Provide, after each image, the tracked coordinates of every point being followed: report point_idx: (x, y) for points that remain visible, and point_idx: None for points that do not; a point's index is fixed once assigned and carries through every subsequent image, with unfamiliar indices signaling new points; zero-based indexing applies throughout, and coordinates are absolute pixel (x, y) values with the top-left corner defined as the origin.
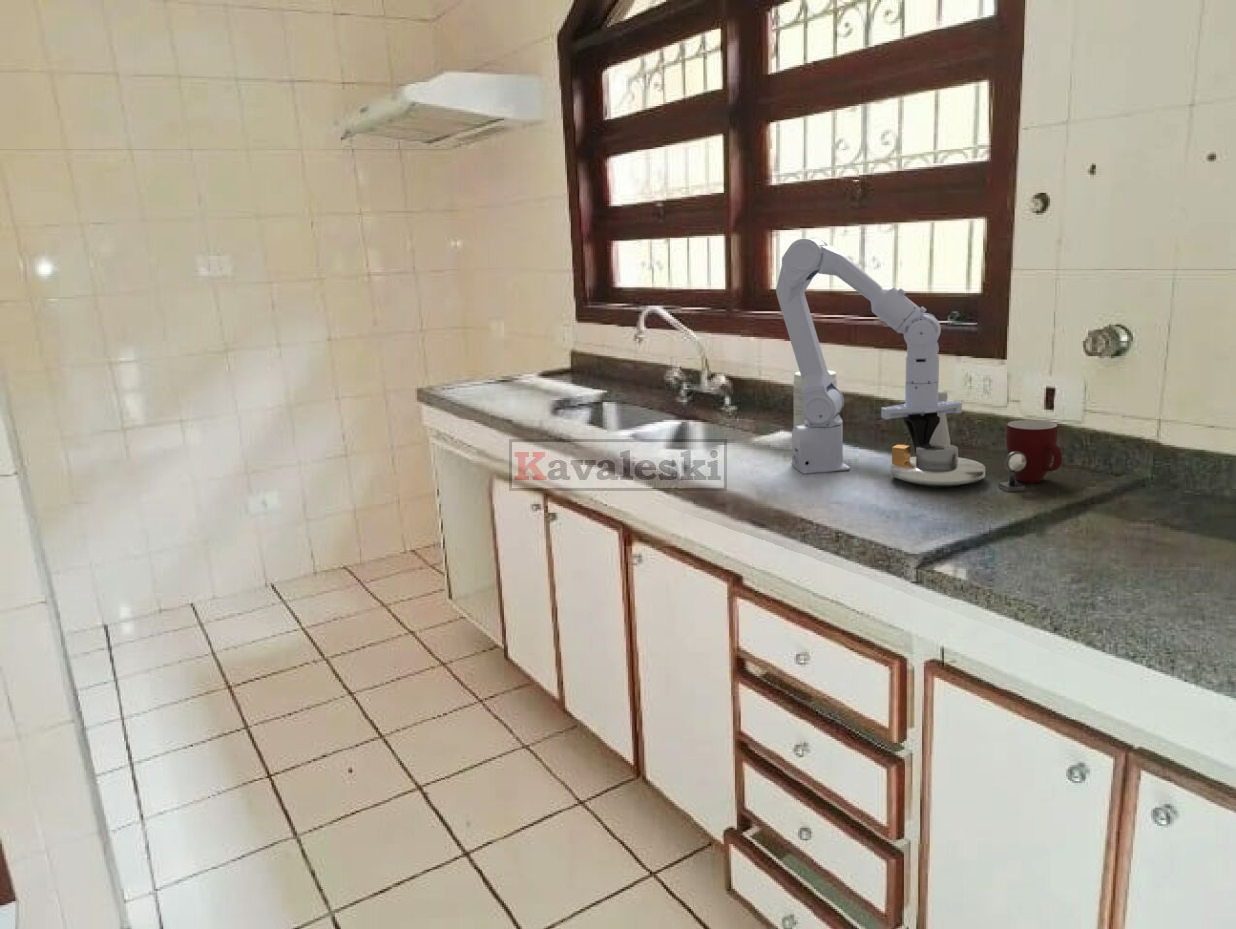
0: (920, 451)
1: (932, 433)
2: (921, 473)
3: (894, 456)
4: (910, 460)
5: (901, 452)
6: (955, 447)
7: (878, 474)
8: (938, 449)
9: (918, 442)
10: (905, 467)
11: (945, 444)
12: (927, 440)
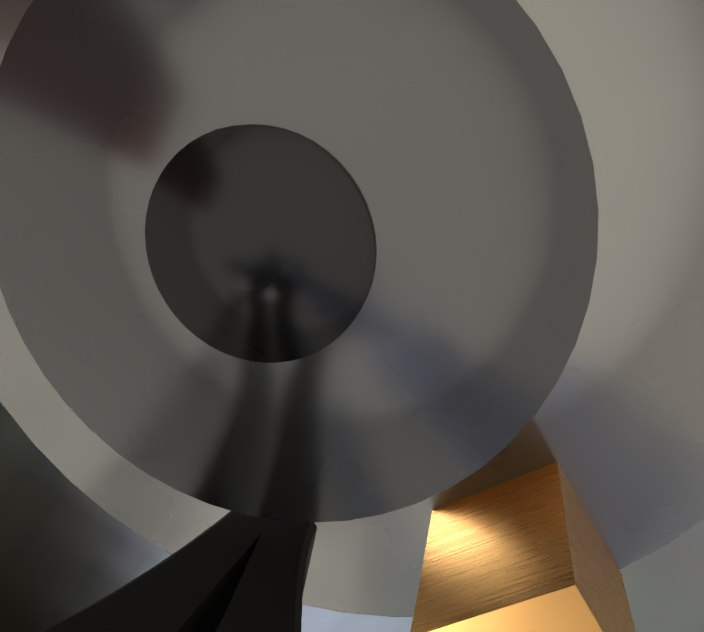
0: (592, 254)
1: (57, 628)
2: (696, 26)
3: (621, 606)
4: (402, 533)
5: (588, 579)
6: (14, 121)
7: (659, 587)
8: (309, 134)
9: (300, 620)
10: (640, 363)
11: (52, 346)
12: (176, 587)
